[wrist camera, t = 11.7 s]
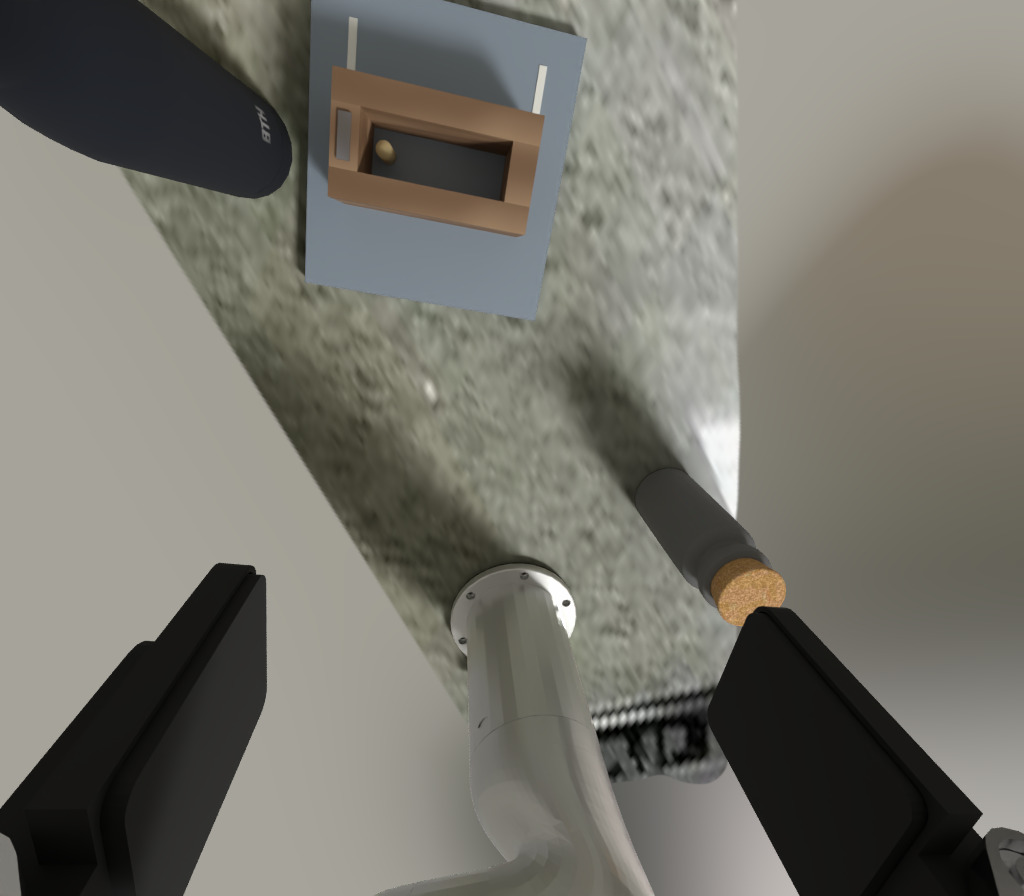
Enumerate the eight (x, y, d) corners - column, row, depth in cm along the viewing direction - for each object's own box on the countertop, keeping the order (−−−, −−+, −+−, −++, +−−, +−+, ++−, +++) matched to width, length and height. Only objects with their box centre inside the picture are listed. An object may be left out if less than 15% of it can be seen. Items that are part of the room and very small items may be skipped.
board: (532, 318, 39) (539, 325, 35) (309, 281, 36) (294, 284, 33) (582, 46, 33) (597, 21, 29) (317, -25, 30) (299, -60, 26)
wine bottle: (169, 136, 32) (-1646, -599, 4) (235, 63, 31) (-1599, -1495, 3) (249, 219, 34) (-627, 80, 7) (313, 154, 33) (-407, -335, 6)
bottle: (636, 469, 45) (715, 566, 31) (697, 464, 45) (802, 558, 32) (632, 524, 47) (705, 637, 33) (690, 519, 48) (786, 629, 34)
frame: (516, 237, 35) (525, 234, 31) (345, 203, 34) (326, 195, 29) (532, 134, 33) (545, 114, 28) (350, 92, 31) (331, 63, 26)
